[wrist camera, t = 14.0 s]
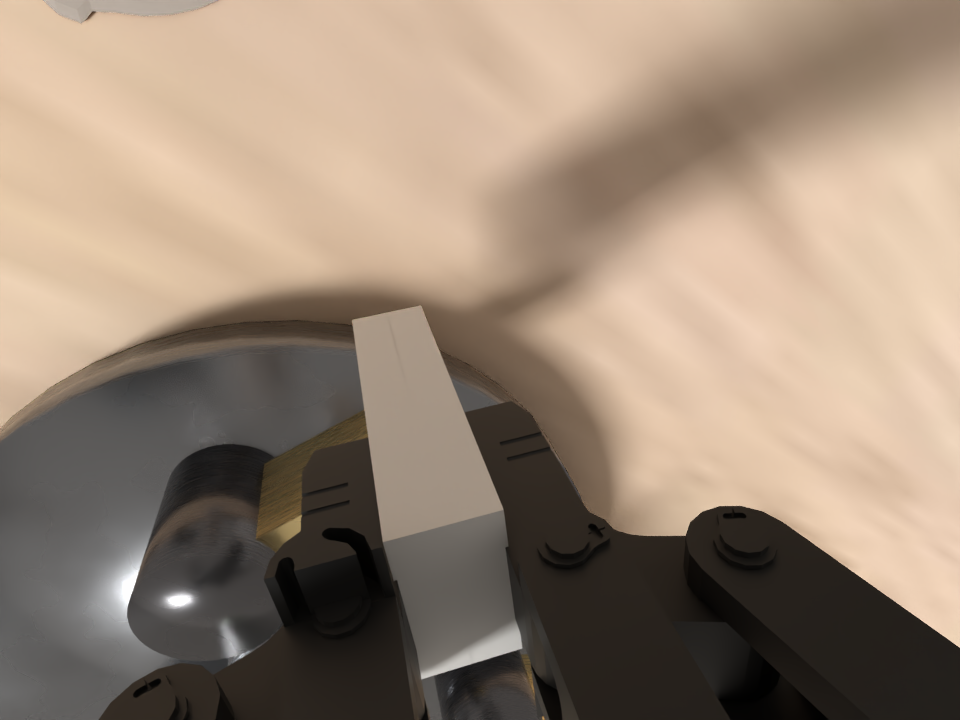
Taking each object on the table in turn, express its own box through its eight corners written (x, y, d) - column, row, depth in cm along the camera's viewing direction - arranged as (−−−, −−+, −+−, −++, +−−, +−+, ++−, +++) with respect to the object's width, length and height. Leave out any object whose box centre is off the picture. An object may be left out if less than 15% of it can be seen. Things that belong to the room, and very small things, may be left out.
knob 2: (418, 678, 22) (440, 809, 18) (449, 617, 21) (479, 744, 17) (592, 685, 25) (642, 799, 21) (628, 631, 24) (687, 742, 20)
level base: (-39, 219, 14) (-379, 395, 7) (666, 406, 22) (827, 575, 15) (-80, 773, 21) (-264, 1119, 15) (457, 762, 29) (501, 984, 22)
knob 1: (217, 553, 17) (190, 696, 14) (139, 482, 16) (84, 622, 12) (455, 425, 17) (494, 534, 14) (401, 340, 16) (430, 436, 12)
